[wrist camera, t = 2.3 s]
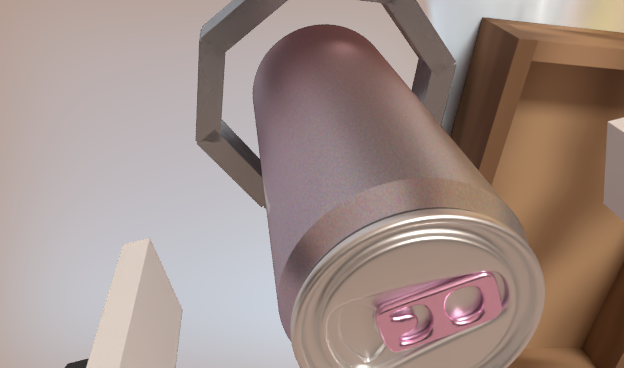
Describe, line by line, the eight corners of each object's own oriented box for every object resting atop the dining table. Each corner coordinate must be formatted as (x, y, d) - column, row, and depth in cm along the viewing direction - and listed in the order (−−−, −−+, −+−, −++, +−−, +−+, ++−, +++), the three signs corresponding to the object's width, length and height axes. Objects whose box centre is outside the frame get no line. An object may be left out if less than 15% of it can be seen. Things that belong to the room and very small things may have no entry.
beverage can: (399, 122, 26) (568, 368, 13) (280, 166, 27) (332, 449, 14) (364, -1, 23) (538, 163, 10) (230, 50, 24) (237, 271, 11)
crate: (393, 348, 34) (409, 396, 31) (482, 17, 24) (519, 38, 21) (581, 348, 36) (614, 392, 33) (728, 44, 27) (793, 67, 24)
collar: (195, 185, 26) (193, 205, 25) (204, -53, 22) (202, -47, 20) (406, 195, 28) (417, 214, 27) (460, -22, 23) (476, -14, 22)
